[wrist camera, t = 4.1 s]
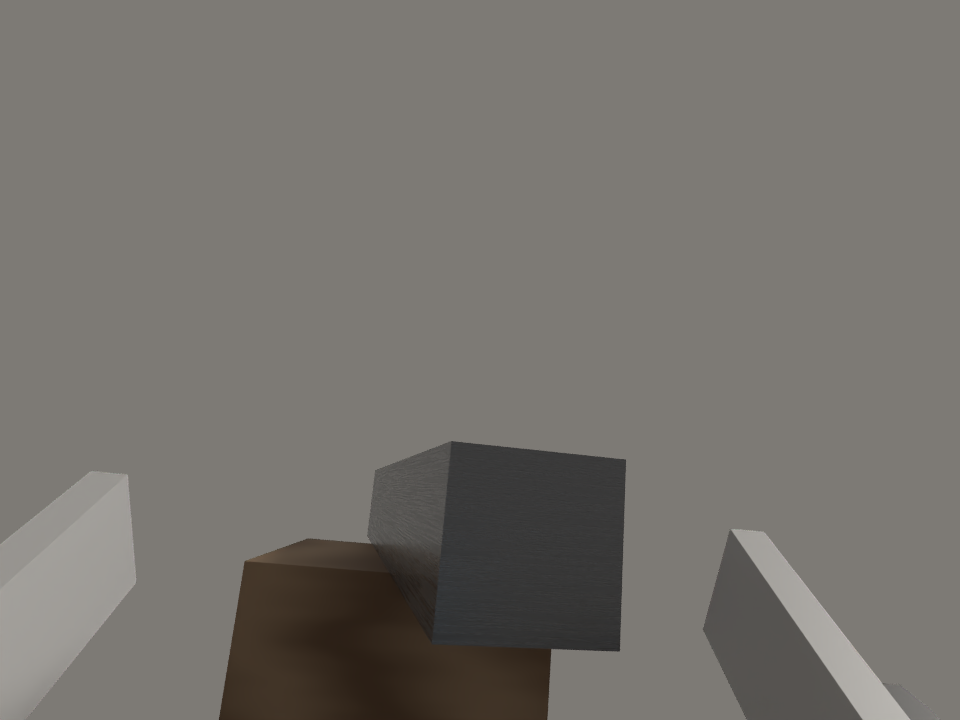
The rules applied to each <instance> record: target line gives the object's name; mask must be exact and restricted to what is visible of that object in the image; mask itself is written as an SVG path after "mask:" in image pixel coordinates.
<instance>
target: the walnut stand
mask: <svg viewBox="0 0 960 720" xmlns="http://www.w3.org/2000/svg"><path fill="white" fill-rule="evenodd" d="M550 661H551V649H540V648H513V647H486V646H459V645H432V644H431V642H430V640H429V639H428V637H427V635H426V634H425V632H424V630H423V629H422V627H421V625H420V624H419V622H418V620H417V619H416V617H415V615H414V614H413V612H412V610H411V608H410V607H409V605H408V603H407V602H406V600H405V598H404V597H403V595H402V593H401V592H400V590H399V588H398V587H397V585H396V583H395V582H394V580H393V578H392V577H391V575H390V573H389V572H388V570H387V568H386V567H385V565H384V563H383V562H382V560H381V558H380V557H379V555H378V553H377V552H376V550H375V548H374V546H373V545H372V544H367V543H356V542H343V541H330V540H319V539H306V540H303V541H300V542H297V543H294V544H291V545H289V546H286V547H283V548H280V549H277V550H275V551H272V552H269V553H266V554H263V555H261V556H258V557H256V558H252V559H249V560H247V561H245V563H244V570H243V576H242V581H241V588H240V594H239V600H238V607H237V612H236V618H235V624H234V630H233V637H232V643H231V649H230V655H229V661H228V667H227V673H226V680H225V686H224V692H223V698H222V704H221V710H220V717H219V720H547V716H548V698H549V678H550Z"/></svg>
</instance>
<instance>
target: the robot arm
mask: <svg viewBox="0 0 960 720" xmlns="http://www.w3.org/2000/svg"><path fill="white" fill-rule="evenodd" d="M135 583H136V572H135V560H134V547H133V535H132V522H131V510H130V499H129V485H128V475H127V474H118V473H106V472H95V471H91V472H90V473H88V474H87V475H86V476H84V477H83V478H82V479H81V480H80V481H78V482H77V483H76V484H74V485H73V486H72V487H71V488H69V489H68V490H67V491H66V492H64V493H63V494H62V495H61V496H60V497H58V498H57V499H56V500H55V501H53V502H52V503H51V504H50V505H49V506H47V507H46V508H45V509H43V510H42V511H41V512H40V513H38V514H37V515H36V516H35V517H33V518H32V519H31V520H30V521H29V522H27V523H26V524H25V525H24V526H22V527H21V528H20V529H19V530H17V531H16V532H15V533H14V534H12V535H11V536H10V537H9V538H7V539H6V540H5V541H4V542H2V543H1V544H0V720H26V719H27V717H28V716H29V715H30V713H31V712H32V711H33V710H34V709H35V707H36V706H37V705H38V704H39V702H40V701H41V700H42V699H43V698H44V696H45V695H46V694H47V692H48V691H49V690H50V689H51V688H52V686H53V685H54V684H55V683H56V681H57V680H58V679H59V678H60V676H61V675H62V674H63V673H64V671H65V670H66V669H67V668H68V666H69V665H70V664H71V663H72V662H73V660H74V659H75V658H76V657H77V655H78V654H79V653H80V651H81V650H82V649H83V648H84V647H85V645H86V644H87V643H88V642H89V640H90V639H91V638H92V636H93V635H94V634H95V633H96V632H97V630H98V629H99V628H100V627H101V626H102V624H103V623H104V622H105V620H106V619H107V618H108V617H109V616H110V614H111V613H112V612H113V611H114V609H115V608H116V607H117V605H118V604H119V603H120V602H121V601H122V599H123V598H124V597H125V596H126V594H127V593H128V592H129V591H130V590H131V588H132V587H133V586H134V584H135ZM703 630H704V632H705V634H706V636H707V639H708V641H709V643H710V645H711V647H712V649H713V651H714V653H715V655H716V657H717V659H718V661H719V663H720V665H721V667H722V670H723V672H724V674H725V676H726V678H727V680H728V682H729V684H730V686H731V688H732V690H733V692H734V694H735V696H736V698H737V700H738V702H739V704H740V707H741V708H742V711H743V713H744V715H745V717H746V719H747V720H940V719H939V718H938V717H937V715H936V714H935V713H934V712H933V711H932V710H931V709H930V708H929V707H927V706H926V705H925V704H923V703H922V702H921V701H920V700H919V699H917V698H916V697H915V696H914V695H912V694H911V693H910V692H909V691H907V690H906V689H905V688H904V687H903V686H901V685H898V684H886V683H881V681H880V680H879V679H878V678H877V676H876V675H875V674H874V672H873V671H872V670H871V669H870V667H869V666H868V665H867V663H866V662H865V661H864V660H863V658H862V657H861V656H860V655H859V653H858V652H857V651H856V650H855V648H854V647H853V646H852V644H851V643H850V642H849V640H848V639H847V638H846V636H844V634H843V633H842V632H841V630H840V629H839V627H838V626H837V625H836V624H835V623H834V621H833V620H832V618H831V617H830V616H829V615H828V613H827V612H826V611H825V609H824V608H823V607H822V606H821V604H820V603H819V602H818V601H817V599H816V598H815V597H814V595H813V594H812V593H811V591H810V590H809V589H808V588H807V586H806V585H805V584H804V582H803V581H802V580H801V579H800V577H799V576H798V575H797V573H796V572H795V571H794V570H793V568H792V567H791V566H790V565H789V563H788V562H787V561H786V559H785V558H784V557H783V556H782V554H781V553H780V552H779V550H778V549H777V548H776V547H775V545H774V544H773V543H772V541H771V540H770V539H769V538H768V536H767V535H766V534H765V532H760V531H750V530H739V529H730V532H729V535H728V539H727V543H726V547H725V550H724V554H723V557H722V561H721V565H720V569H719V572H718V576H717V580H716V583H715V587H714V591H713V595H712V598H711V602H710V605H709V609H708V613H707V617H706V620H705V624H704V628H703Z"/></svg>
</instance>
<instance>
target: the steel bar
mask: <svg viewBox="0 0 960 720" xmlns="http://www.w3.org/2000/svg"><path fill="white" fill-rule="evenodd" d="M625 472H626V460H624V459H614V458H605V457H595V456H586V455H576V454H567V453H557V452H547V451H539V450H529V449H519V448H510V447H501V446H491V445H482V444H471V443H463V442H453V441H451V442H448V443H446V444H443V445H440V446H438V447H435V448H433V449H430V450H427V451H425V452H422V453H420V454H417V455H414V456H412V457H409V458H407V459H404V460H401V461H399V462H396V463H393V464H391V465H388V466H385V467H383V468H380V469H378V470H376V471H375V477H374V486H373V494H372V502H371V510H370V518H369V527H368V535H367V536H368V538H369V540H370V541H371V543H372V545H373V546H374V548H375V550H376V552H377V553H378V555H379V557H380V558H381V560H382V562H383V563H384V565H385V567H386V568H387V570H388V572H389V573H390V575H391V577H392V578H393V580H394V582H395V583H396V585H397V587H398V588H399V590H400V592H401V593H402V595H403V597H404V598H405V600H406V602H407V603H408V605H409V607H410V608H411V610H412V612H413V614H414V615H415V617H416V619H417V620H418V622H419V624H420V625H421V627H422V629H423V630H424V632H425V634H426V635H427V637H428V639H429V640H430V642H431V644H432V645H459V646H486V647H513V648H540V649H567V650H568V649H569V650H594V651H620V627H621V626H620V625H621V596H622V565H623V562H622V561H623V534H624V501H625Z"/></svg>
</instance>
